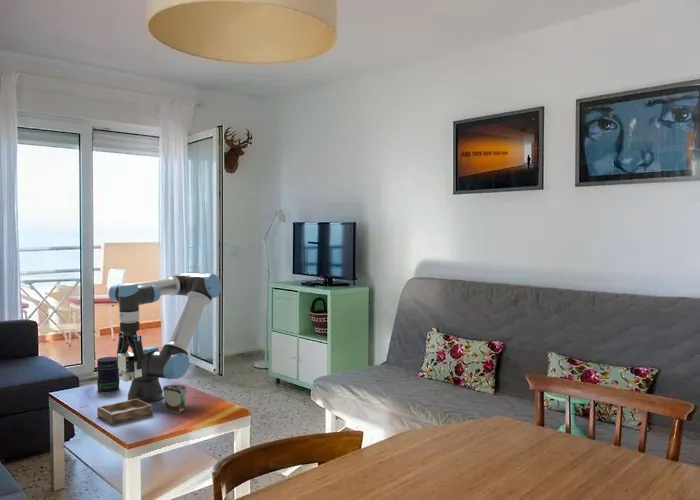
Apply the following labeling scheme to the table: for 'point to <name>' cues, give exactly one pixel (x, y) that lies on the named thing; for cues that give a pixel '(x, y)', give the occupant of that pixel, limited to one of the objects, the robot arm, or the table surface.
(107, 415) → the walnut box
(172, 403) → the food container
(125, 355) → the pneumatic valve
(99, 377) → the storage jar
